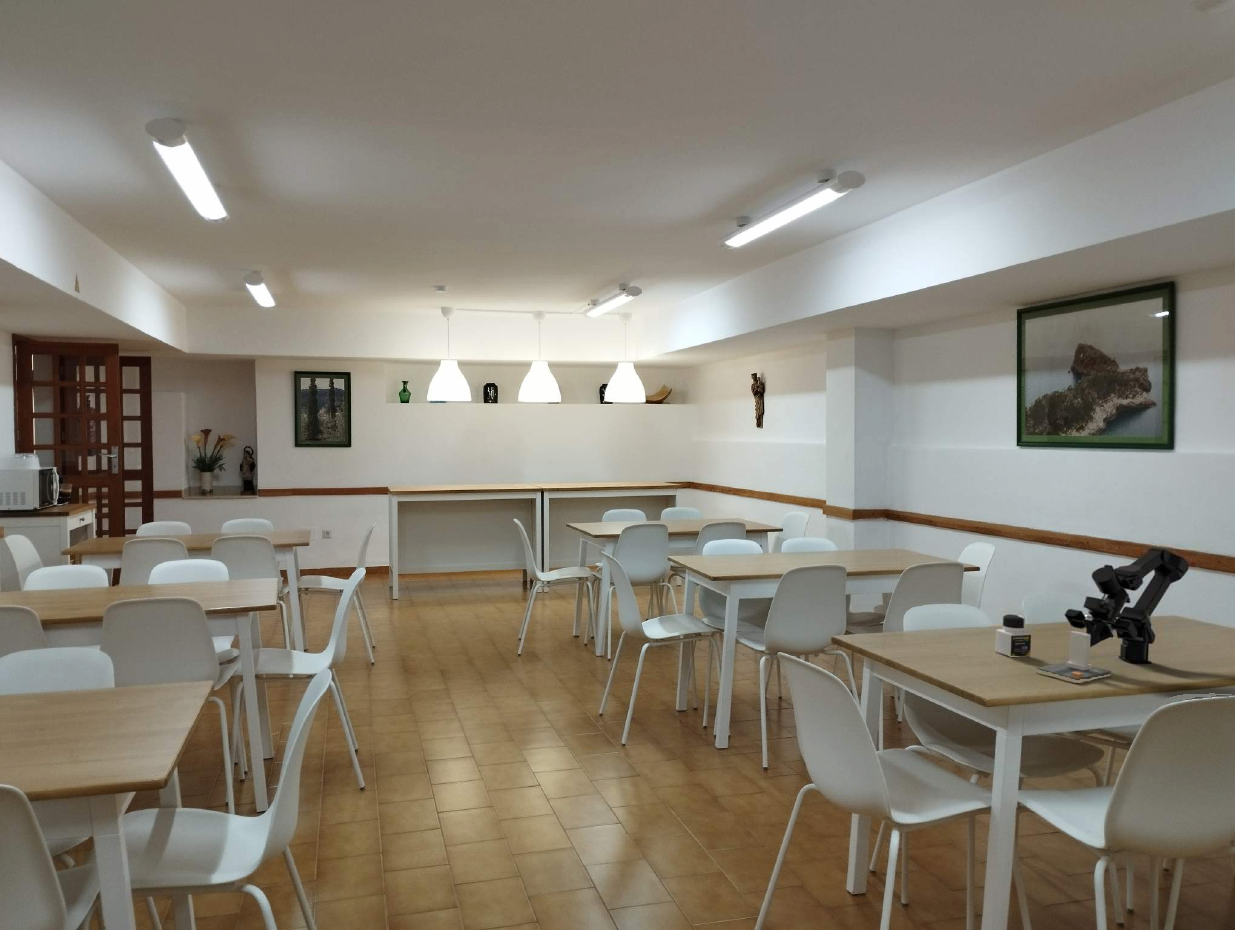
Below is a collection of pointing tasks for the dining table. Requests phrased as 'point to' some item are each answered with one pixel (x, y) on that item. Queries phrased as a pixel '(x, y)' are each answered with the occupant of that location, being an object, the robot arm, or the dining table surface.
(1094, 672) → the switch panel
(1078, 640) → the tab
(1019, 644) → the medicine bottle
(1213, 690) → the dining table surface
